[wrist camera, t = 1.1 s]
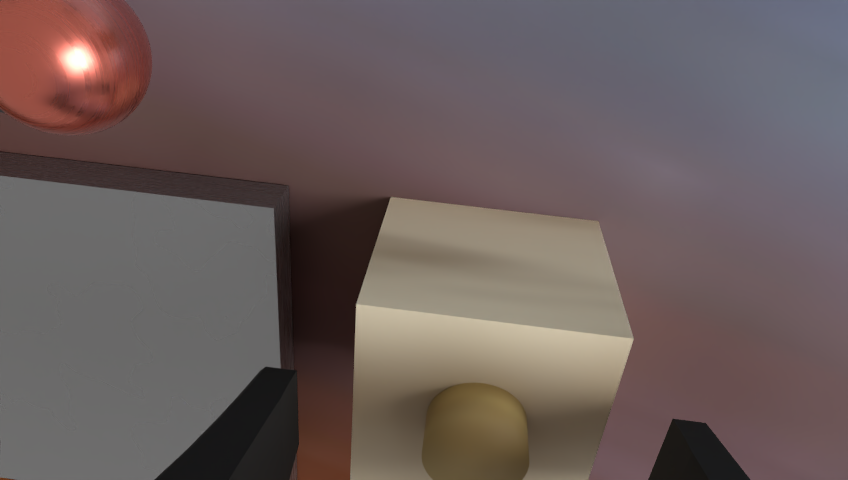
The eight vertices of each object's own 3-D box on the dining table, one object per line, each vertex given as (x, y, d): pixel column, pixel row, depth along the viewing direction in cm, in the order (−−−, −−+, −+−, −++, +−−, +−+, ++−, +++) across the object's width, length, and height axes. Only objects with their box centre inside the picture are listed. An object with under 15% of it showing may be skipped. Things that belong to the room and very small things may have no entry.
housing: (558, 375, 18) (581, 559, 13) (381, 352, 18) (340, 525, 13) (597, 219, 15) (645, 377, 10) (391, 195, 15) (344, 339, 10)
